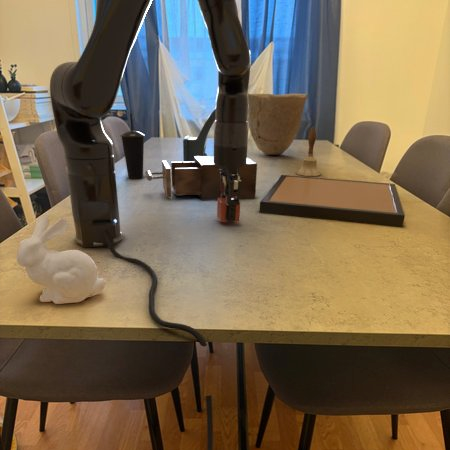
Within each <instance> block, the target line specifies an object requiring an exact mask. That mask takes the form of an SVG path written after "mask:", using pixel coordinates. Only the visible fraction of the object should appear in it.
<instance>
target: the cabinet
mask: <svg viewBox="0 0 450 450" xmlns="http://www.w3.org/2000/svg"><path fill="white" fill-rule="evenodd" d="M194 162H197V163H198V164H199V166H200V167H201V195H198V197H199V198H200V200H201V201H217V198H221V197H220V196H221V195H220V193H219V169H222V167H220V166H216V165H215V164H214V155H210V156H208V155H207V156H198V157H194ZM257 172H258V163H257V162H256V161H253V160H252V159H251V158H250V157H248V156H247V163H246V165H245V166H243V167H239V168H238V175H240V180H241V182H242V184H241V193H240V200H252V199H256V190H257V189H256V188H257V174H258V173H257ZM232 197H234V196H232ZM232 197H231V198H232Z"/></svg>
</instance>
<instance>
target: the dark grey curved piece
mask: <svg viewBox="0 0 450 450" xmlns="http://www.w3.org/2000/svg"><path fill="white" fill-rule="evenodd" d="M215 121H216V107H215V108H213V110H212V111H211V113H210V114H209V116H208V117H207V118H206V120H205V122H204V124H203V126H202V128H201V130H200V131H199V134H198V136H196V137H195V136H194V137H193V136H190V135H185V136H184V138H183V139H182V153H183V159H182V160H183V161H182V162H194V157H198V156H208V154H207V153H206V149H207V142H208V137H209V135H210V133H211V129H212V128H213V127H214V125H215Z"/></svg>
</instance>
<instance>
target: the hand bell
mask: <svg viewBox="0 0 450 450" xmlns="http://www.w3.org/2000/svg"><path fill="white" fill-rule="evenodd" d="M307 139H308V140H307V141H308V153H307V157H305V158H304V159H303V160H302V161H303V162H302V166H301V168H300V169H299V170H298V171H297V176H302V177H319V176H320V175H321V172H320V171H319V169H318V167H317V158H315V157H314V146H315V144H316V139H317V132H316V127H314V126H312V127H310V130H309V132H308V138H307Z"/></svg>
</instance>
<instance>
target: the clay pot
mask: <svg viewBox="0 0 450 450" xmlns="http://www.w3.org/2000/svg"><path fill="white" fill-rule="evenodd" d="M308 96H309V94H308V93H298V92H297V93H286V94H271V93H249V92H248V121H247V122H248V129H249V132H250V136H251V138H252V139H253V141H254V143H255V145H256V147H257V148H258V150H259V151H261V152H262V153H263V154H265V155H267V156H279V155H282V154H283V153H285V152H286V151H287V150H288V149H289V148H290V147H291V145H292V143H293V142H294V140H295V139H296V137H297V136H298V132H299V129H300V126H301V123H302V119H303V118H302V117H303V114H304V108H305V105H306V101H307V100H308Z"/></svg>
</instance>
